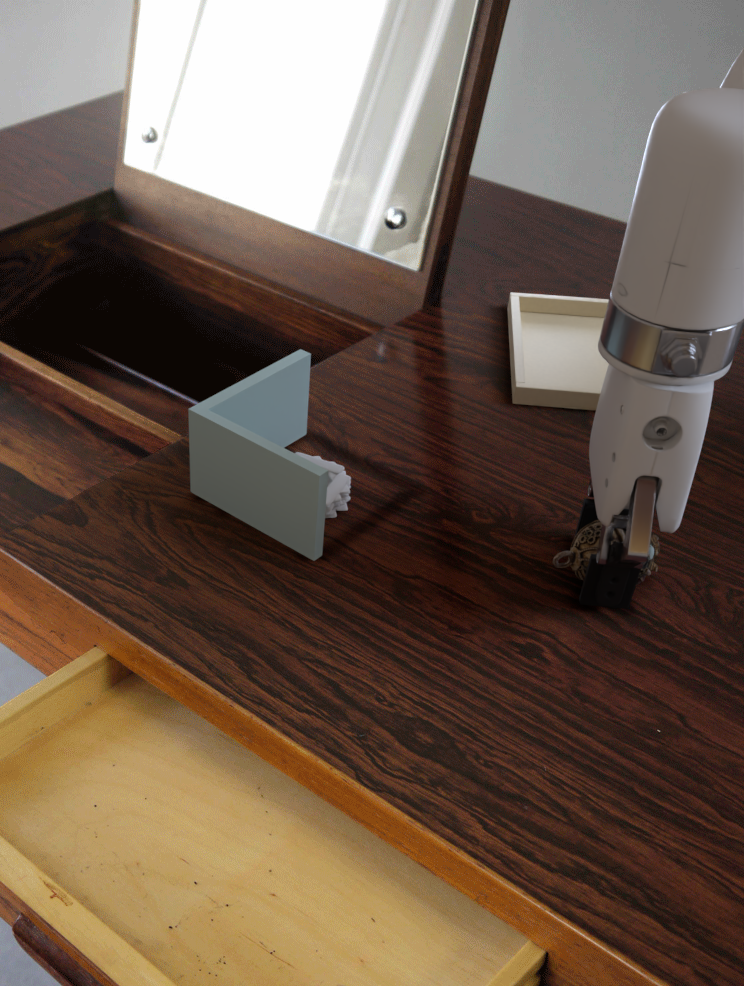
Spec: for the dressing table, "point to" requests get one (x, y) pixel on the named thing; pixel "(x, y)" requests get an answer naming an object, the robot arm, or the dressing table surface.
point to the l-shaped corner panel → (266, 457)
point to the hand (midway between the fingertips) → (599, 574)
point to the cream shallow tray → (556, 350)
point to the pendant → (588, 545)
